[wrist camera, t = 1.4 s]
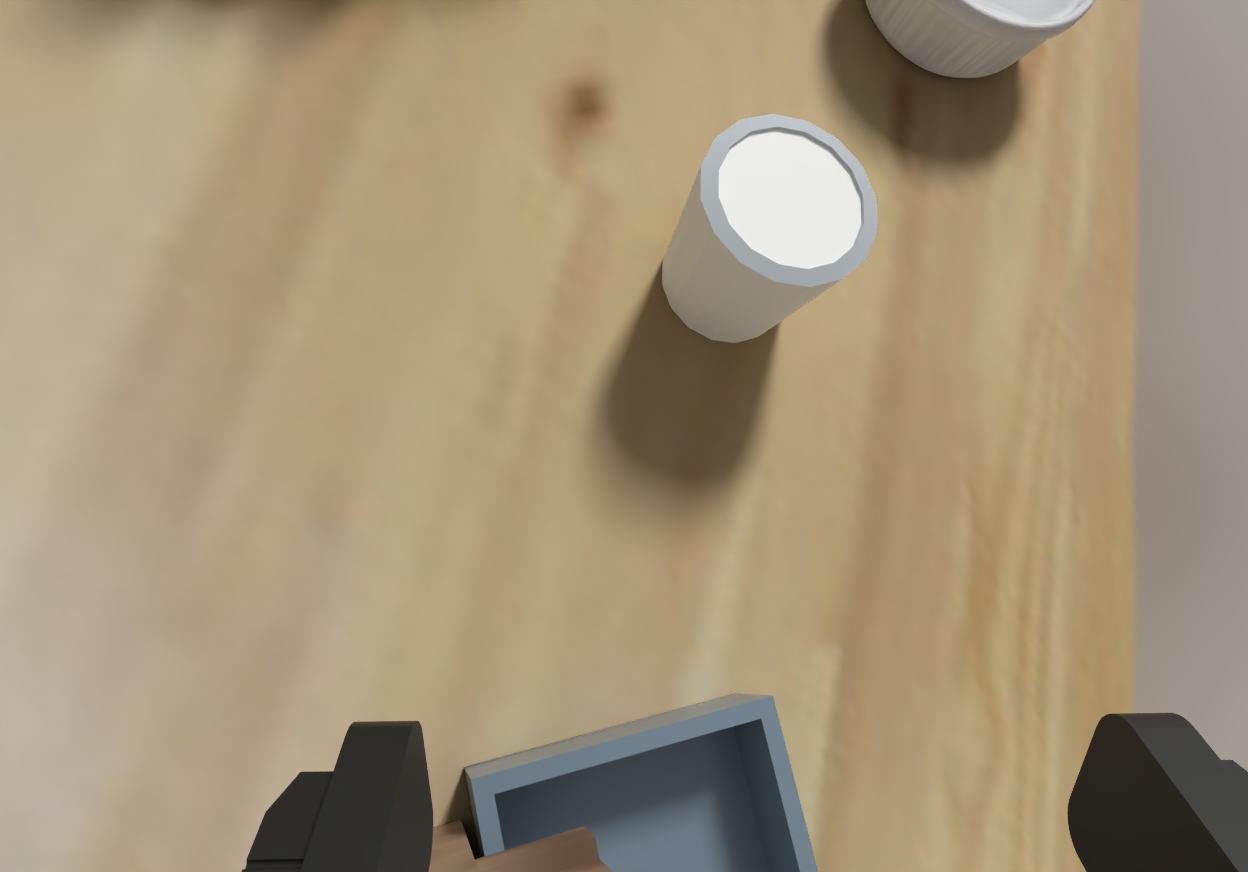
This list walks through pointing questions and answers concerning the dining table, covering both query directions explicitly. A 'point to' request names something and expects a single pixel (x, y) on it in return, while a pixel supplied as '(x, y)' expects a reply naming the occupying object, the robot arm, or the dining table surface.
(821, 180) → the white cup
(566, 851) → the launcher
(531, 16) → the dining table surface
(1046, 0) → the ramekin
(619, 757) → the blue square tray
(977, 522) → the dining table surface
